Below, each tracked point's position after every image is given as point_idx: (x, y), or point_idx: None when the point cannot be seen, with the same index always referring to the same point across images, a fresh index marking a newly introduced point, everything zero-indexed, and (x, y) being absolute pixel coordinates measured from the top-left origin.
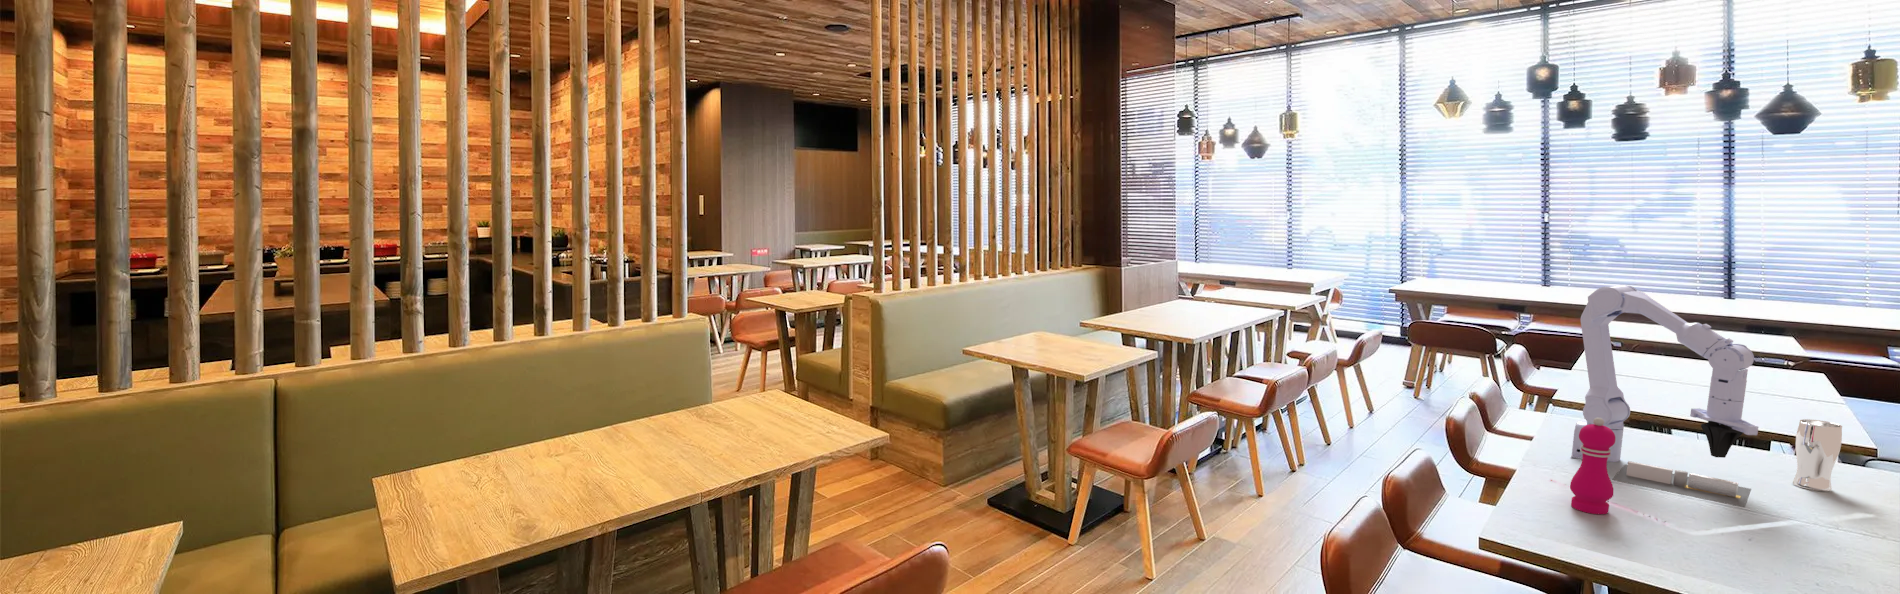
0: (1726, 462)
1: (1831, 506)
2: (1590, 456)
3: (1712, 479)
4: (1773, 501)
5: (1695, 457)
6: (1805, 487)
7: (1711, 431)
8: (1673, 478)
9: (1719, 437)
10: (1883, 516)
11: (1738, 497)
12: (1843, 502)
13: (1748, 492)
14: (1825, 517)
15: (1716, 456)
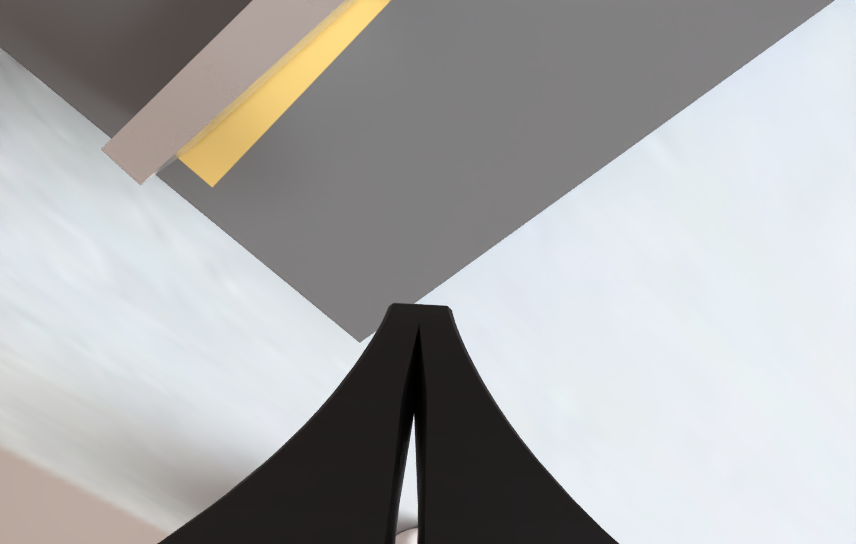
0: (731, 527)
1: (218, 465)
2: None
3: (206, 50)
4: (235, 321)
5: (831, 482)
6: (413, 532)
7: (379, 532)
8: (564, 29)
9: (253, 474)
10: (144, 518)
11: None
12: None
13: (294, 283)
14: (48, 352)
15: (389, 309)
